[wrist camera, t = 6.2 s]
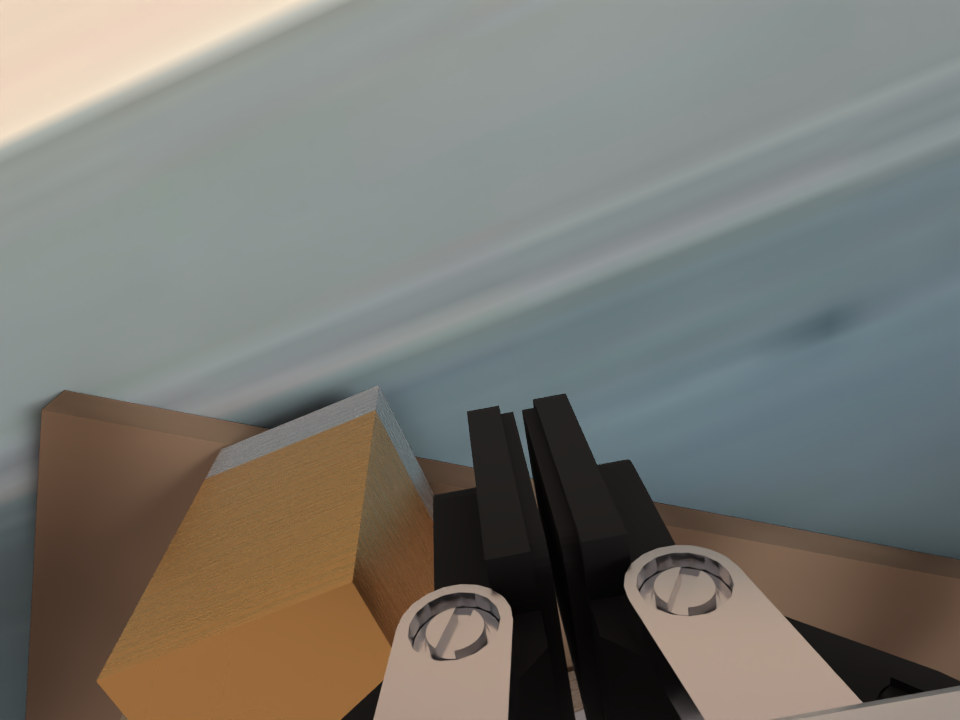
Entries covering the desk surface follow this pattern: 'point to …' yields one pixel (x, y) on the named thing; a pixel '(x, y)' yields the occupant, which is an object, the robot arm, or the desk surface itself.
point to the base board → (198, 440)
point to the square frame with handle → (285, 576)
